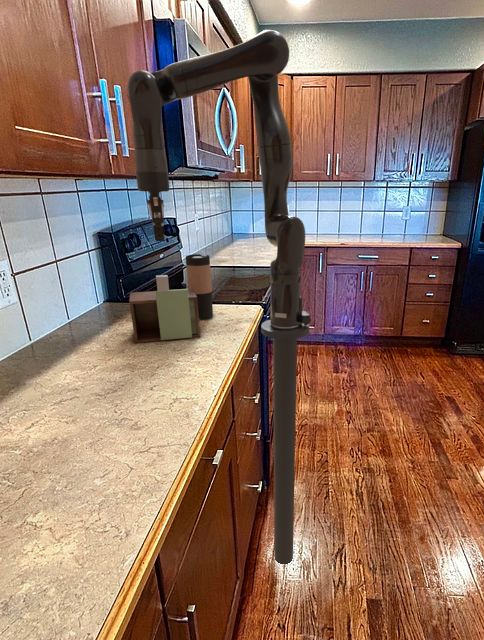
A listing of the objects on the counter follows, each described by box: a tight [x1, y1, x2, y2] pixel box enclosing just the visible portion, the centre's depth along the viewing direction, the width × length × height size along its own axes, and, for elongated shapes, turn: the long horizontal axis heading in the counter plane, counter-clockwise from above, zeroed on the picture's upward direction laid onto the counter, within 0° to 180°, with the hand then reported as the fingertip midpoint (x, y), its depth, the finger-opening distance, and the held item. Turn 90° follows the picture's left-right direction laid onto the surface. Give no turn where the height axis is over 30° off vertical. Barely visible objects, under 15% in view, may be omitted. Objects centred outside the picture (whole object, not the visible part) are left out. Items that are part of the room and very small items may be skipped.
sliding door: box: [154, 274, 192, 341], centre depth 117 cm, size 9×2×18 cm, turn 108°
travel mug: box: [185, 253, 214, 321], centre depth 137 cm, size 8×8×20 cm
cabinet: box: [128, 288, 201, 344], centre depth 122 cm, size 18×10×12 cm, turn 108°
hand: (159, 239), depth 109 cm, fingers open, 8 cm apart
